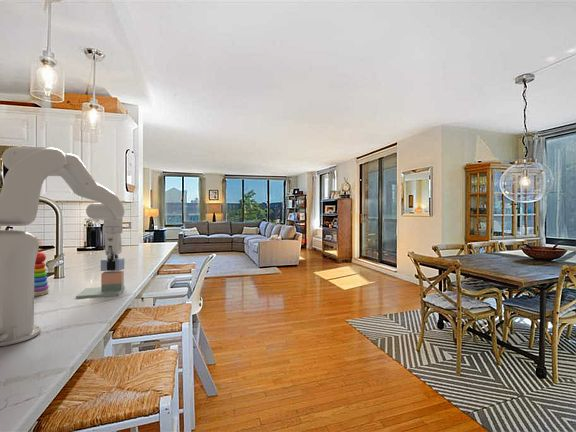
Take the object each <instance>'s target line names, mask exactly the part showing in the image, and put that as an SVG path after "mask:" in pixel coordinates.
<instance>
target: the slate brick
mask: <svg viewBox="0 0 576 432" xmlns="http://www.w3.org/2000/svg"><path fill="white" fill-rule="evenodd" d="M114 261H115V270H109V271H124V269H125V258H124V257H123V258H121V257H118V258H115V260H114ZM104 271H107V257H106V258H103V259H100V272H104Z"/></svg>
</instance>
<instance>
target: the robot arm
mask: <svg viewBox="0 0 576 432" xmlns="http://www.w3.org/2000/svg"><path fill="white" fill-rule="evenodd" d="M1 161H2V163H3V165H4V167H5V168H6V169H8V171H7V172H6V174H5V175H4V179H3V183H2V187H1V190H0V347H4V346H5V347H6V346H10V345H14V344H18V343H21V342H25V341H28V340H30V339H33V338H34V337H37V336H38V335H39V334H40V333H41V331H42V330H41V329H42V328H41V326H39V325H35V296H34V268H35V261H36V257H37V253H38V252H39V246H40V245H39V243H40V242H39V240H38V238H37V237H36V236H35V235H34V234H32V233H31V232H28V231H25V230H24V231H23V230H15V229H9V230H8V229H7V230H6V229H3V230H2V229H1V228H2V226H3V227H8V226H9V227H21V226H22V227H23V226H28V225H31V224H32V223H34V221H35V220H36V218H37V213H38V209H39V203H40V196H41V191H42V187H43V186H42V185H43V183H44V182H45V180H46V179H47V178H48V177H61V179H63V181H65V183H66V184H67V186H68V187H69V188H70V189H71V190H72V192H73V193H74V195H77V196H78V197H81V198H84V199H87V200H90V201H94V202H92V203H90V204H89V205H87V206H86V208H85V214H86V216H87V217H89V219H91V220H94V221H95V220H97V221H98V220H99V221H103V234H104V235H105V241H104V243H105V246H104V247H105V248H104V249H105V256H107V257H106V258H107V271H109V270H115V261H114V260H115V258H119V255H120V254H121V253H122V235H121V234H123V224H124V223H123V221H124V220H123V219H124V218H123V217H124V216H125V207H124V204H123V203H122V202H121V200H120V198H119V197H118V196H117V194H116V193H114V192H113V191H111V190H110V189H109V188H107V187H105V186H103V185H101V184H100V183H98V182H96V180H95V179H94V177H93V175H92V174H91V173H90V171H89V170H88V168H87V167H86V165H85V164H84V162H83V161H82V159H81V158H80V157H79V156H78V155H77V154H76V155H75V154H73V153H70V152H69V153H67V152H66V153H65V152H64V151H62V150H61V149H59V148H56V147H51V146H49V147H48V146H12V147H9V148H7V149H5V150H4V151H3V153H2V156H1Z"/></svg>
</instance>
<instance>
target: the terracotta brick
mask: <svg viewBox="0 0 576 432" xmlns="http://www.w3.org/2000/svg"><path fill="white" fill-rule="evenodd" d="M124 272H125V271H124V270H120V271H102V273H101V274H100V275H101V277H100V278H101V279H100V285H104V284H121V283H122V282H123V281H124V282H125V280H124V279H125V278H124V277H125V276H124V275H125V274H124Z"/></svg>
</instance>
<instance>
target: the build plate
mask: <svg viewBox="0 0 576 432" xmlns="http://www.w3.org/2000/svg"><path fill="white" fill-rule="evenodd" d="M100 285H101V284H100ZM125 288H126V287H125V280H124V281H123V282H122V283H121V284H104V285H101V286H100V287H99V286H98V287H87V288H85V289H83V290H82V291H80V292H79V293H78V294H76V296H75V299H88V298H90V299H91V298H100V297H101V298H102V297H114V296H119V295H121V293H122V292H123V291H124V289H125Z"/></svg>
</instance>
